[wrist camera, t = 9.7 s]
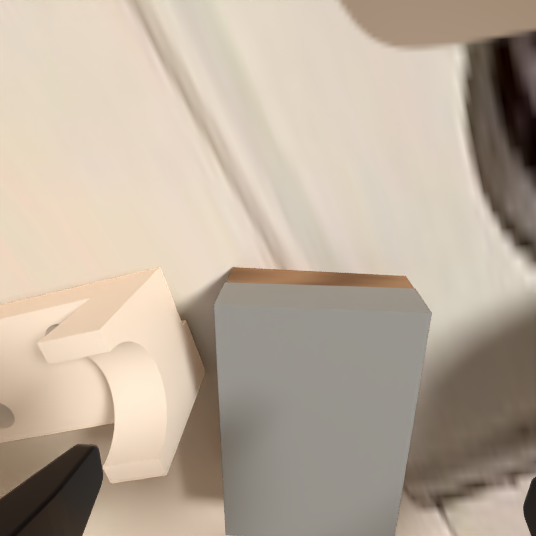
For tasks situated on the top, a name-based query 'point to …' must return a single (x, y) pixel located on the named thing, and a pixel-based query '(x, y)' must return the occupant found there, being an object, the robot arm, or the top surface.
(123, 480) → the bracket
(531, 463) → the top surface
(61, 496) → the robot arm
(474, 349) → the top surface
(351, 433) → the slate slab
